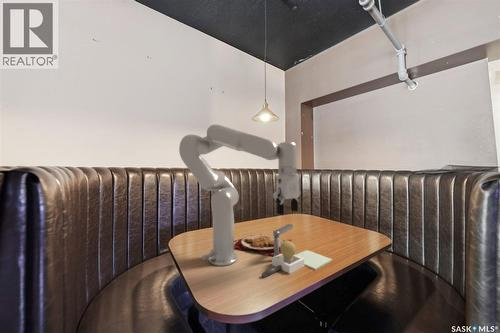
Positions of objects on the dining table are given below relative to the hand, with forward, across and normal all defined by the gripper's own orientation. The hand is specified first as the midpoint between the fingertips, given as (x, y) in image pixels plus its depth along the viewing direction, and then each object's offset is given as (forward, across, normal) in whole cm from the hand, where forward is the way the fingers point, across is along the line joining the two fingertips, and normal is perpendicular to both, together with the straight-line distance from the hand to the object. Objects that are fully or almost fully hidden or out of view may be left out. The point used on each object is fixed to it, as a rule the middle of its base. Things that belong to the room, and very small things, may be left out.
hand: (287, 212), depth 82 cm
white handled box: (+22, -5, +1) cm, 23 cm away
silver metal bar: (+11, +6, +8) cm, 15 cm away
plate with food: (+23, +8, +24) cm, 34 cm away
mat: (+22, +12, -3) cm, 25 cm away
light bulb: (+22, 0, 0) cm, 22 cm away
